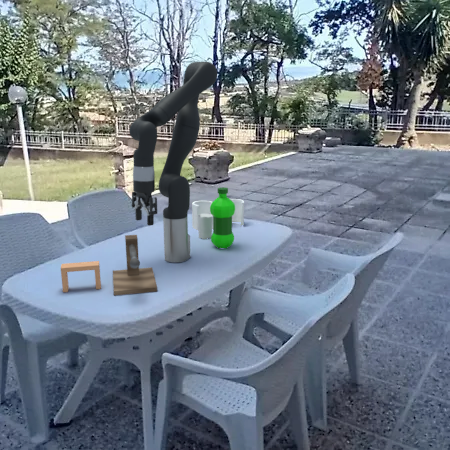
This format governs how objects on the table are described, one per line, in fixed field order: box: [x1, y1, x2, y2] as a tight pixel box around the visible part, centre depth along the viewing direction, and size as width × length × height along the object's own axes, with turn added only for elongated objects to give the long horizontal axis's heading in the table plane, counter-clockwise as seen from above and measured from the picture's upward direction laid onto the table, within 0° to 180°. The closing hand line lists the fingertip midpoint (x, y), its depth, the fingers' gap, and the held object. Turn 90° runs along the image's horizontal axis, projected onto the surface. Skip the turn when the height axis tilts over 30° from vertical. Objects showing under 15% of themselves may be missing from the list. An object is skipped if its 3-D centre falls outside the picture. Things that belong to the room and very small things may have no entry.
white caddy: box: [191, 198, 245, 231], centre depth 227 cm, size 25×10×12 cm, turn 105°
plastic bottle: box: [210, 186, 235, 249], centre depth 197 cm, size 10×10×25 cm
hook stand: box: [112, 234, 158, 296], centre depth 159 cm, size 24×14×15 cm, turn 14°
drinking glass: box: [197, 214, 213, 240], centre depth 211 cm, size 7×7×10 cm
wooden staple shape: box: [60, 260, 102, 293], centre depth 158 cm, size 12×4×8 cm, turn 104°
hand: (144, 222), depth 173 cm, fingers open, 8 cm apart
